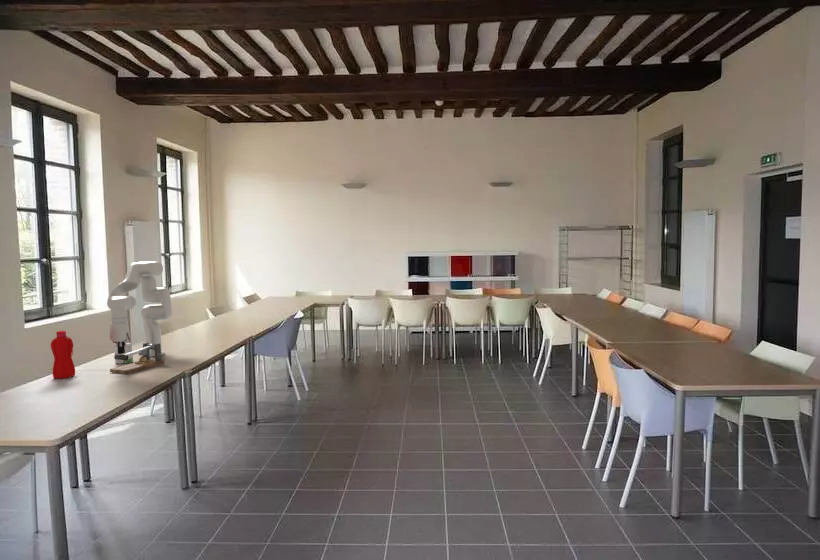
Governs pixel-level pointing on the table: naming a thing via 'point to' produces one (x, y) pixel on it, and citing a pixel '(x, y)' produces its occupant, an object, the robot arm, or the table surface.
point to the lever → (135, 352)
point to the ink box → (127, 349)
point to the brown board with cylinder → (141, 365)
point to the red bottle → (62, 356)
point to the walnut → (142, 359)
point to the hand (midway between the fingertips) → (121, 353)
